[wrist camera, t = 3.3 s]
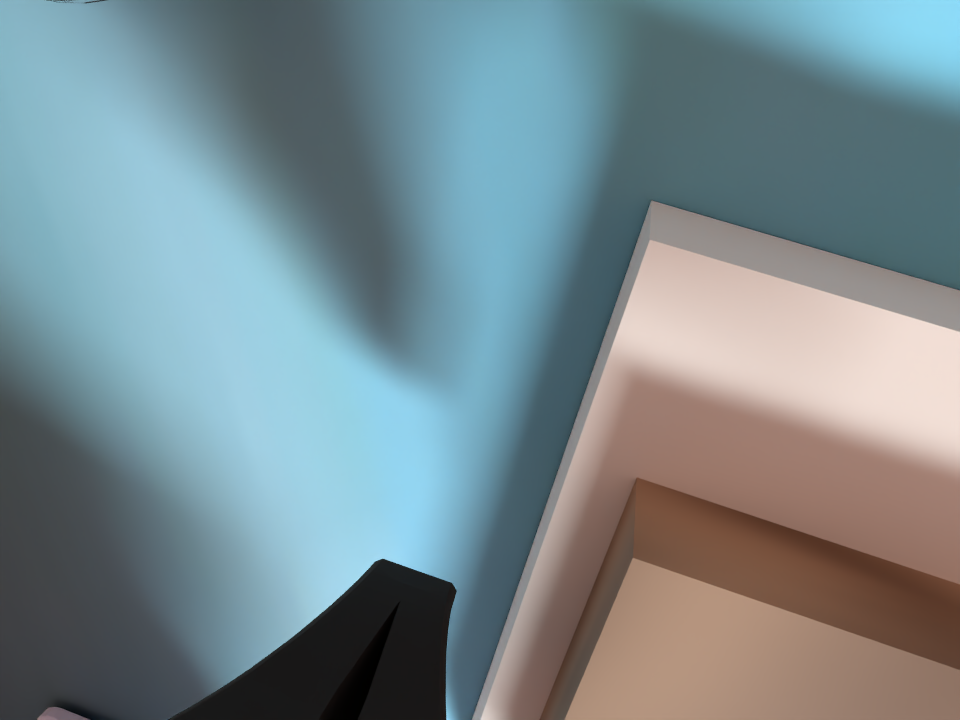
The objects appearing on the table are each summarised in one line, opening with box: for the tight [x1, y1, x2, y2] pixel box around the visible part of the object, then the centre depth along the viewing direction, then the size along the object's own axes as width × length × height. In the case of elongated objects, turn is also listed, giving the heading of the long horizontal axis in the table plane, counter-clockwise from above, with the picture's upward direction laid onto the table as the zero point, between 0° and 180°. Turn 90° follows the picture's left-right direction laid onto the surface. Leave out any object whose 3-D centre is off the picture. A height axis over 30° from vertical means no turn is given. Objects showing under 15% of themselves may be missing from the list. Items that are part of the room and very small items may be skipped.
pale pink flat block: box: [472, 200, 960, 720], centre depth 14 cm, size 10×14×3 cm
